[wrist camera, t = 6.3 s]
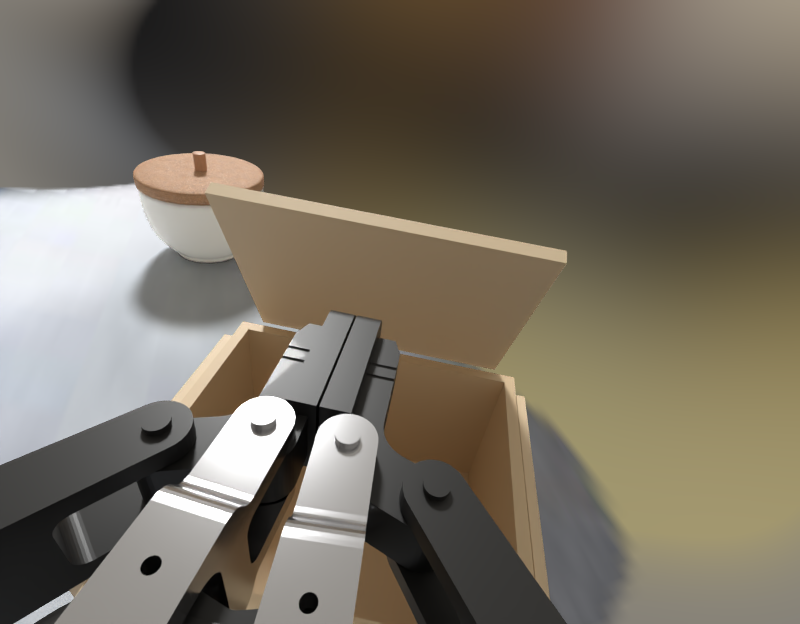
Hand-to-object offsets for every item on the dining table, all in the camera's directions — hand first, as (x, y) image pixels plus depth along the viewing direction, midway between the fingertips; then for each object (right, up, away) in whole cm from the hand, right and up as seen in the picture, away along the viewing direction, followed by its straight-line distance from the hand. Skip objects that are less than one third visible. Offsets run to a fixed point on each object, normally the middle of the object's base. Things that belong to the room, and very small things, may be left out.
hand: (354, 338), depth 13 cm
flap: (0, -1, +9) cm, 9 cm away
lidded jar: (-18, +7, +30) cm, 36 cm away
